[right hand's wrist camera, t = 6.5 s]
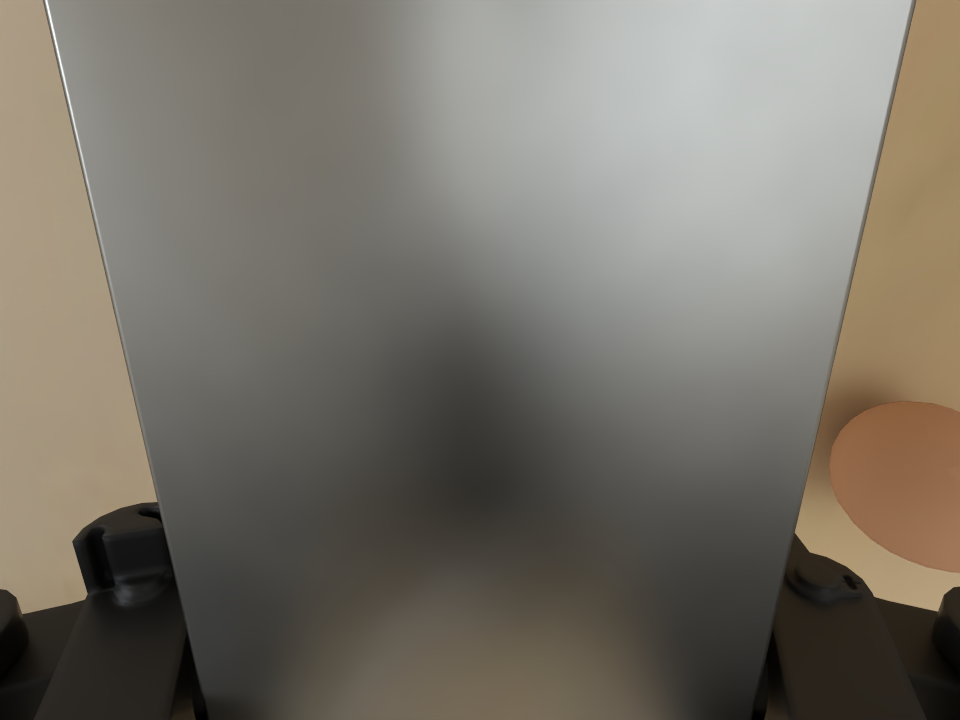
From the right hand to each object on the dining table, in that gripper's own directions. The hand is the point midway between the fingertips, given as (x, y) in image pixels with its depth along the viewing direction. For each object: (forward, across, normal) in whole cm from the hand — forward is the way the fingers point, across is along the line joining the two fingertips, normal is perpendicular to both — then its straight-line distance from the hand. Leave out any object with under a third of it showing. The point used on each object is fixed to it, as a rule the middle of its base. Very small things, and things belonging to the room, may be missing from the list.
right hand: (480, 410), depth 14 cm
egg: (+12, -18, +7) cm, 22 cm away
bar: (+1, 0, -9) cm, 9 cm away
